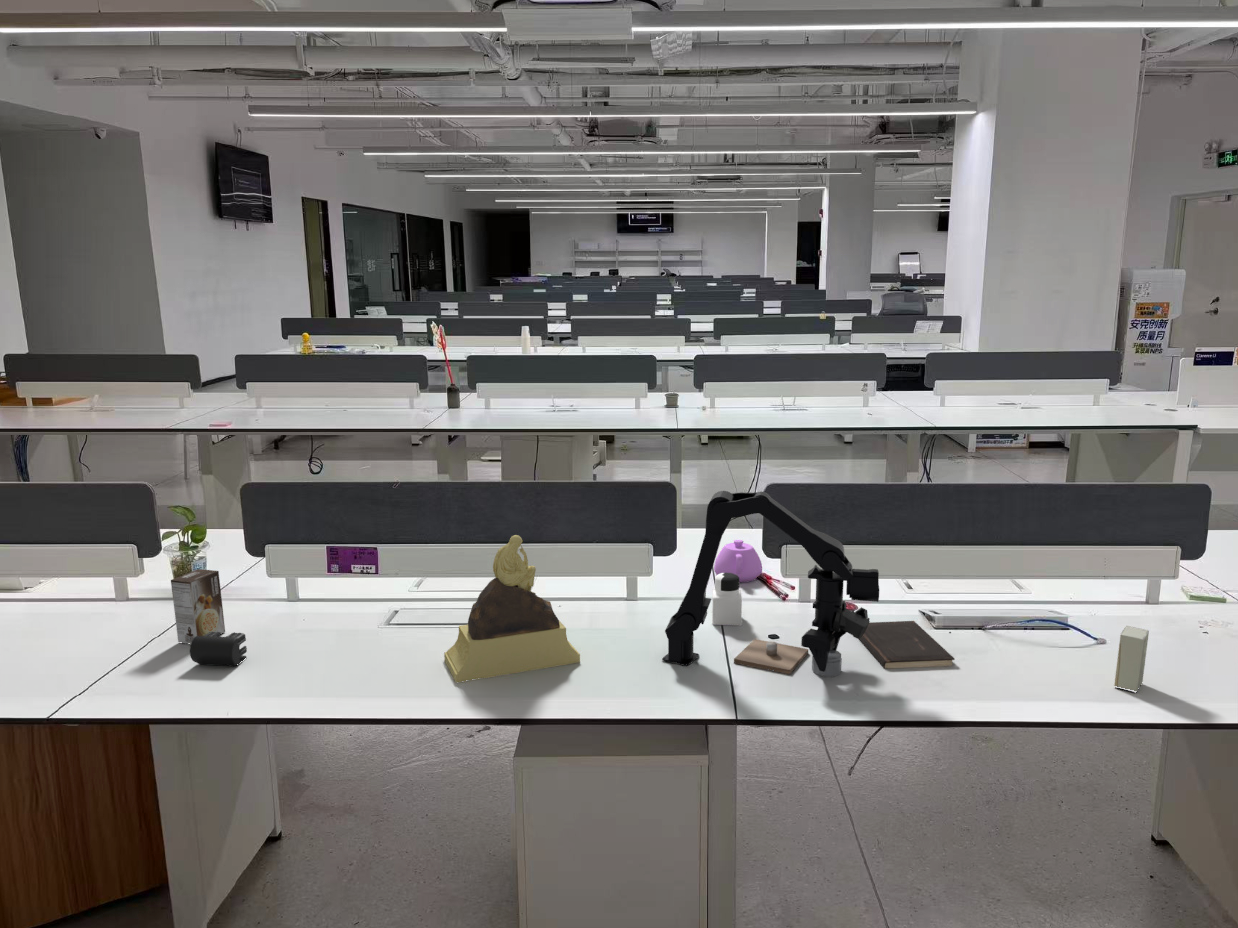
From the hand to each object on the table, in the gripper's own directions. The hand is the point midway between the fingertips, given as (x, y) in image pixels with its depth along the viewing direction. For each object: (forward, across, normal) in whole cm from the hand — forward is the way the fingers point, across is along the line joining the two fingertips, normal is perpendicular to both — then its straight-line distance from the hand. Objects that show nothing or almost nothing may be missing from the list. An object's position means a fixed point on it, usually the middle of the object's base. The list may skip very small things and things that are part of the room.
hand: (826, 665), depth 202 cm
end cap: (+2, -60, +122) cm, 136 cm away
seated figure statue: (+2, -28, +64) cm, 70 cm away
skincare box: (+1, +22, -58) cm, 62 cm away
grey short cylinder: (+1, 0, 0) cm, 1 cm away
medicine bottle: (+2, +18, +31) cm, 36 cm away
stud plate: (+1, +1, +13) cm, 13 cm away
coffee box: (+2, -52, +139) cm, 148 cm away
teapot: (+2, +53, +42) cm, 68 cm away
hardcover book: (+2, +21, -11) cm, 24 cm away
